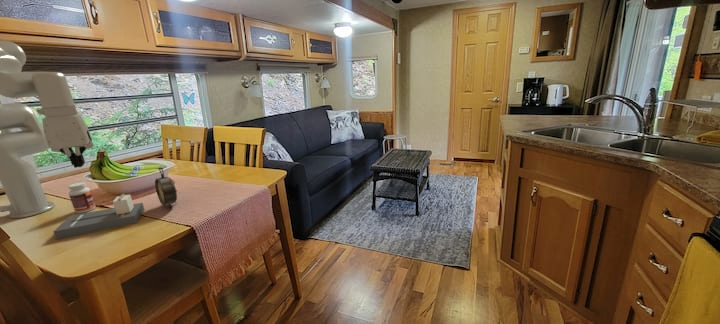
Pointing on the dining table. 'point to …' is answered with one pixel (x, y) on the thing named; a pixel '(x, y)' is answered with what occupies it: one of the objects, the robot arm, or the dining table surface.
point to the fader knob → (123, 204)
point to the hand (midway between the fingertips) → (79, 166)
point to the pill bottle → (81, 198)
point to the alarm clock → (165, 190)
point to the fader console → (97, 221)
